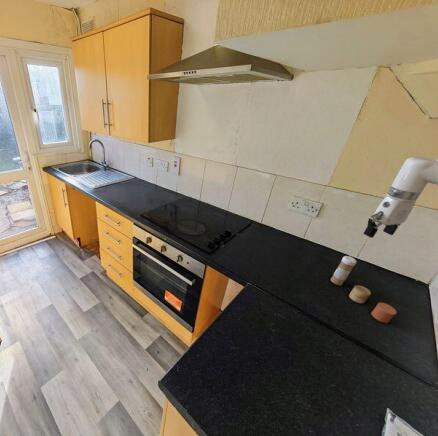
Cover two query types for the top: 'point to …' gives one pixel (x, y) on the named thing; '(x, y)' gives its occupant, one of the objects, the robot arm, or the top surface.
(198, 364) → the top surface
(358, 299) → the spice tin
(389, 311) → the orange-brown short cylinder
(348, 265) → the sprinkles bottle
